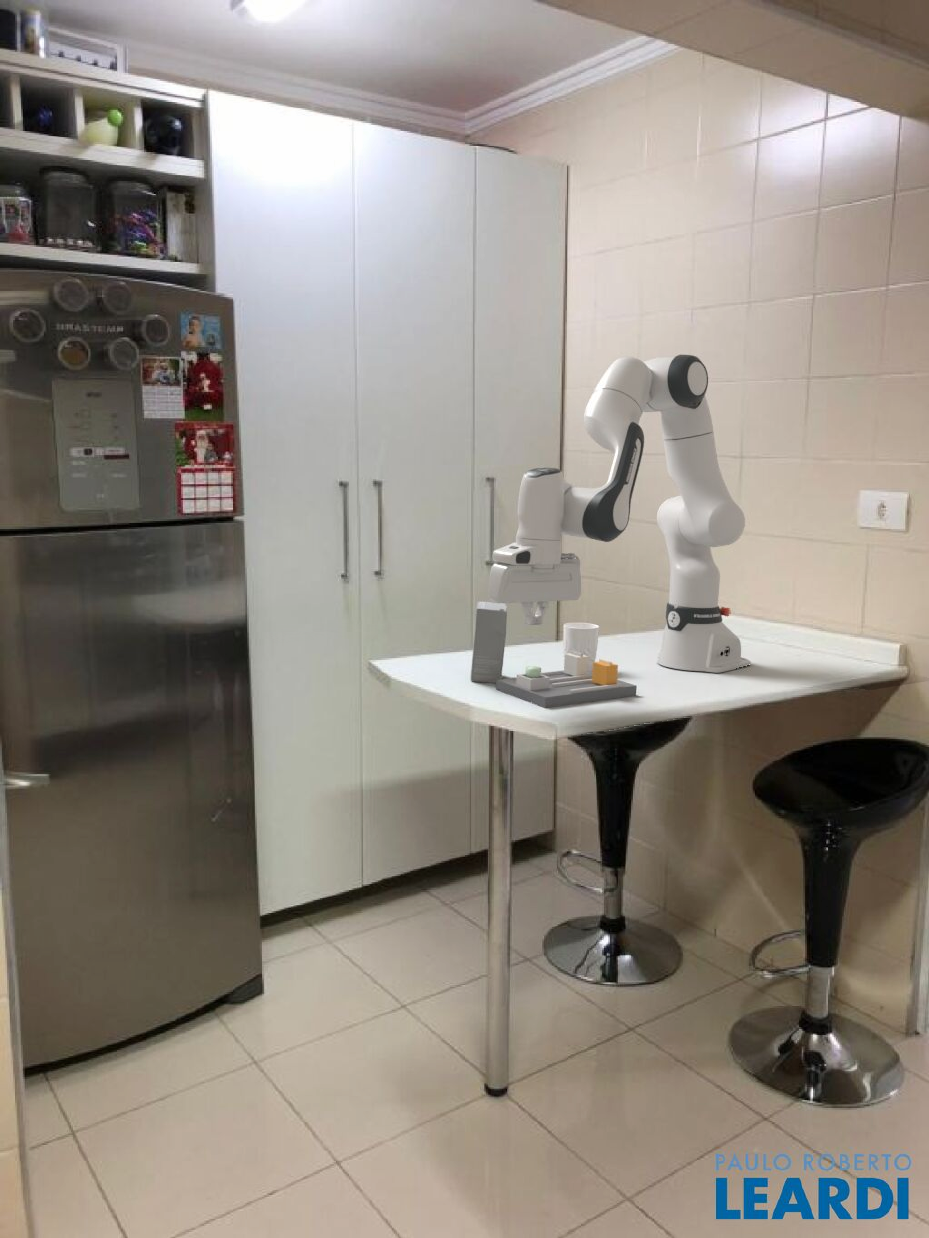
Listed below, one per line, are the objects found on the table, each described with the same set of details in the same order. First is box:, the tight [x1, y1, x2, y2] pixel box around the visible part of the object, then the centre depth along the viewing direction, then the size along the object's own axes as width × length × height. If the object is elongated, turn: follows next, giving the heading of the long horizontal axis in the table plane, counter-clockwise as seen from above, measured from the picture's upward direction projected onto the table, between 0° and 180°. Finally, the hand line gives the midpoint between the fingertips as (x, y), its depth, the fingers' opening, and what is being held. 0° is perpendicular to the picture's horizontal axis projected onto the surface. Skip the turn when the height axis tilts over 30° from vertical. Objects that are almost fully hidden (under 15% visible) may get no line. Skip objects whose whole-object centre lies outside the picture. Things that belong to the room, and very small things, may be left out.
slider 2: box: [592, 658, 619, 685], centre depth 199 cm, size 3×4×5 cm
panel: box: [496, 669, 637, 709], centre depth 200 cm, size 23×16×4 cm
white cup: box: [562, 622, 600, 672], centre depth 222 cm, size 8×8×10 cm
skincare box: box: [470, 601, 508, 684], centre depth 209 cm, size 8×7×16 cm
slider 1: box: [563, 651, 589, 676], centre depth 207 cm, size 3×4×5 cm
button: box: [525, 665, 542, 679], centre depth 195 cm, size 3×3×2 cm
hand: (533, 624), depth 193 cm, fingers closed
